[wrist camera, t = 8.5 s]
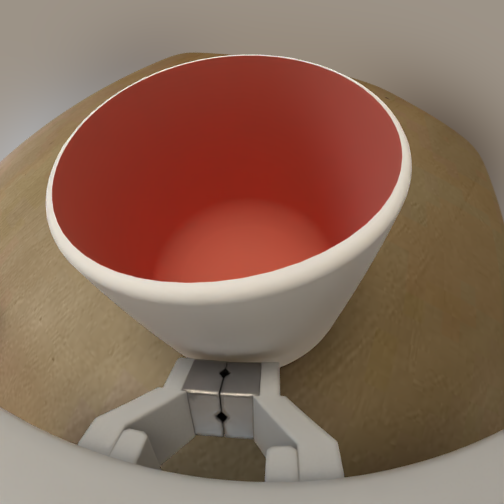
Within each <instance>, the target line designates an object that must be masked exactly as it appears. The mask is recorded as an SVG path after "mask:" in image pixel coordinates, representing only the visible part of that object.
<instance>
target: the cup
mask: <svg viewBox="0 0 504 504" xmlns="http://www.w3.org/2000/svg"><path fill="white" fill-rule="evenodd" d="M411 173H412V160H411V153H410V147H409V144H408V141H407V138H406V135H405V133H404V131H403V129H402V127H401V125H400V123H399V121H398V120H397V118H396V117H395V116H394V114H393V113H392V111H391V110H390V109H389V108H388V107H387V106H386V105H385V104H384V102H383V101H381V100H380V99H379V98H378V97H377V96H376V95H375V94H374V93H372V92H371V91H370V90H368V89H367V88H366V87H364V86H363V85H361V84H360V83H358V82H356V81H355V80H353V79H351V78H349V77H347V76H345V75H343V74H341V73H339V72H337V71H334V70H332V69H329V68H327V67H324V66H321V65H317V64H315V63H311V62H307V61H303V60H299V59H294V58H288V57H281V56H272V55H228V56H219V57H212V58H206V59H201V60H196V61H192V62H188V63H184V64H180V65H177V66H174V67H171V68H168V69H165V70H162V71H160V72H157V73H154V74H152V75H150V76H148V77H145V78H143V79H141V80H139V81H137V82H135V83H133V84H131V85H130V86H128V87H126V88H124V89H123V90H121V91H120V92H118V93H116V94H115V95H113V96H112V97H111V98H109V99H108V100H106V101H105V102H104V103H103V104H101V105H100V106H99V107H98V108H96V109H95V110H94V111H93V112H92V113H91V114H90V115H89V116H88V117H87V118H86V119H85V120H84V121H83V122H82V123H81V124H80V125H79V126H78V127H77V128H76V130H75V131H74V132H73V133H72V135H71V136H70V137H69V139H68V140H67V141H66V143H65V144H64V146H63V148H62V149H61V151H60V153H59V155H58V157H57V159H56V161H55V163H54V165H53V168H52V171H51V174H50V177H49V181H48V186H47V192H46V213H47V220H48V224H49V227H50V231H51V234H52V236H53V238H54V240H55V242H56V244H57V246H58V248H59V250H60V251H61V252H62V254H63V255H64V256H65V257H66V259H67V260H68V261H69V262H70V263H71V264H72V265H73V266H74V267H75V268H76V269H77V270H78V271H79V272H80V273H81V274H82V275H84V276H85V277H86V278H87V279H88V280H89V281H90V282H91V283H92V284H93V285H95V286H96V287H97V288H98V289H99V290H100V291H101V292H102V293H104V294H105V295H106V296H107V297H108V298H109V299H111V300H112V301H113V302H114V303H115V304H116V305H118V306H119V307H120V308H121V309H123V310H124V311H125V312H126V313H127V314H129V315H130V316H131V317H132V318H134V319H135V320H136V321H137V322H139V323H140V324H141V325H143V326H144V327H145V328H146V329H148V330H149V331H150V332H152V333H153V334H154V335H156V336H157V337H158V338H160V339H161V340H162V341H164V342H165V343H167V344H168V345H169V346H171V347H172V348H174V349H175V350H176V351H178V352H179V353H181V354H182V355H184V356H185V357H186V358H194V359H204V360H216V361H228V362H261V363H262V362H279V367H282V366H285V365H287V364H289V363H291V362H293V361H295V360H297V359H298V358H300V357H302V356H303V355H305V354H306V353H307V352H309V351H310V350H311V349H312V348H314V347H315V346H316V345H317V344H318V343H319V342H320V341H321V340H322V339H323V338H324V336H325V335H326V334H327V333H328V331H329V330H330V328H331V327H332V325H333V324H334V323H335V321H336V320H337V318H338V317H339V315H340V313H341V312H342V310H343V309H344V307H345V306H346V304H347V303H348V301H349V300H350V298H351V296H352V295H353V293H354V292H355V290H356V288H357V287H358V285H359V284H360V282H361V280H362V279H363V277H364V275H365V274H366V272H367V270H368V268H369V267H370V265H371V263H372V262H373V260H374V258H375V256H376V255H377V253H378V251H379V249H380V247H381V246H382V244H383V242H384V240H385V238H386V237H387V235H388V233H389V231H390V229H391V227H392V225H393V223H394V221H395V219H396V218H397V216H398V214H399V212H400V210H401V207H402V205H403V203H404V201H405V198H406V196H407V193H408V189H409V186H410V181H411Z"/></svg>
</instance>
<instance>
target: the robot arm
mask: <svg viewBox="0 0 504 504" xmlns="http://www.w3.org/2000/svg"><path fill="white" fill-rule="evenodd" d="M224 434H225V437H228V438H240V439H254V441H255V443H256V444H257V446H258V447H259V449H260V450H261V452H262V453H263V455H264V456H265V457H266V469H265V482H249V481H233V480H221V479H212V478H204V477H196V476H190V475H184V474H178V473H173V472H167V471H162V470H161V467H160V465H162V464H163V463H164V462H165V461H167V460H168V459H169V458H170V457H171V456H173V455H174V454H175V453H176V452H177V451H179V450H180V449H181V448H182V447H183V446H185V445H186V444H187V443H188V442H189V441H190V440H192V439H193V438H194V437H195V435H203V436H215V437H224ZM0 504H504V429H503V430H501V431H499V432H497V433H495V434H493V435H491V436H489V437H486V438H484V439H482V440H480V441H477V442H475V443H473V444H470V445H468V446H465V447H463V448H460V449H458V450H455V451H452V452H449V453H447V454H444V455H441V456H438V457H435V458H432V459H428V460H425V461H422V462H418V463H415V464H411V465H407V466H403V467H399V468H395V469H390V470H386V471H381V472H376V473H370V474H365V475H359V476H352V477H344V472H343V466H342V461H341V456H340V451H339V447H338V442H337V441H336V440H335V439H334V438H332V437H331V436H330V435H329V434H328V433H326V432H325V431H324V430H323V429H322V428H321V427H319V426H318V425H317V424H316V423H315V422H314V421H313V420H311V419H310V418H309V417H308V416H307V415H306V414H305V413H303V412H302V411H301V410H300V409H299V408H298V407H297V406H296V405H295V404H293V403H292V402H291V401H290V400H289V399H288V398H287V397H286V396H280V367H279V362H262V363H261V362H228V361H216V360H204V359H194V358H182V357H180V358H178V359H177V361H176V363H175V365H174V367H173V369H172V371H171V373H170V375H169V377H168V378H167V380H166V382H165V384H164V386H163V388H159V387H158V388H156V389H154V390H152V391H150V392H148V393H146V394H144V395H142V396H140V397H138V398H136V399H134V400H132V401H130V402H128V403H126V404H124V405H122V406H120V407H118V408H116V409H113V410H111V411H109V412H107V413H105V414H103V415H101V416H98V417H96V418H95V419H94V421H93V422H92V424H91V425H90V426H89V428H88V429H87V431H86V432H85V434H84V435H83V437H82V438H81V440H80V441H79V442H78V444H77V445H76V444H73V443H71V442H68V441H66V440H64V439H61V438H59V437H57V436H55V435H52V434H50V433H48V432H46V431H44V430H42V429H40V428H38V427H36V426H34V425H32V424H30V423H28V422H26V421H24V420H22V419H21V418H19V417H17V416H15V415H13V414H12V413H10V412H8V411H7V410H5V409H3V408H2V407H0Z"/></svg>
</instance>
